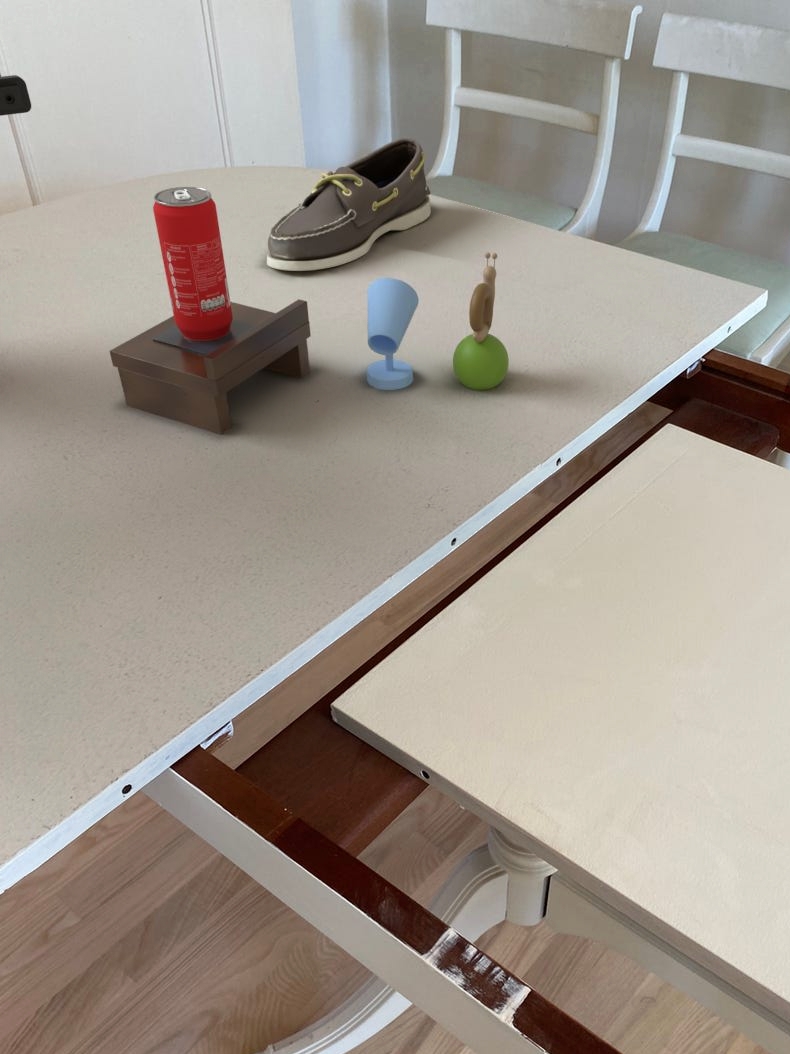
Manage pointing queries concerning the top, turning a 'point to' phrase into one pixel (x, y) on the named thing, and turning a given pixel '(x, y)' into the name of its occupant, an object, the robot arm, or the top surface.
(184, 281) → the beverage can
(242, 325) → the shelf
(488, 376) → the snail figurine
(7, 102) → the robot arm
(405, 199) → the boat shoe
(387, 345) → the spotlight
